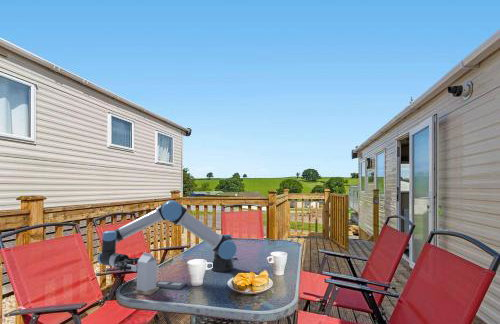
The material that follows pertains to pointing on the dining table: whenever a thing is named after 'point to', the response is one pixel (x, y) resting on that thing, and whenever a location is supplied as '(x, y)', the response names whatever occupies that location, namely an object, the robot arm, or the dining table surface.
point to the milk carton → (146, 272)
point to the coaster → (145, 292)
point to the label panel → (170, 285)
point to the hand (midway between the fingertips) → (146, 265)
